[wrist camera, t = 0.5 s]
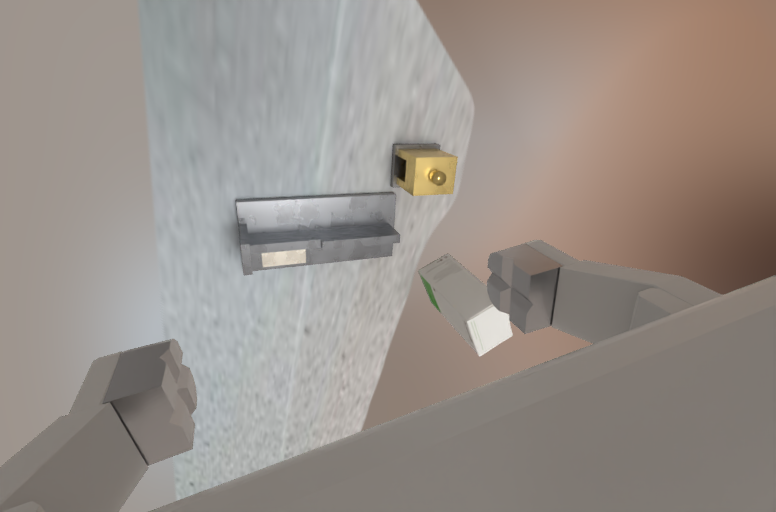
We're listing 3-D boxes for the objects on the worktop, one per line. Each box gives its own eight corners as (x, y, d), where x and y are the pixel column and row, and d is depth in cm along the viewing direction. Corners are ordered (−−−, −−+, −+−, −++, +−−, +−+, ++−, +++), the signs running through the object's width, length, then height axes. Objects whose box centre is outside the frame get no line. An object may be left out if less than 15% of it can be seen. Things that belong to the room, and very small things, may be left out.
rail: (236, 199, 50) (237, 220, 44) (393, 192, 58) (415, 209, 51) (243, 268, 55) (246, 296, 48) (389, 252, 62) (409, 275, 55)
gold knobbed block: (398, 149, 54) (421, 159, 48) (436, 148, 56) (463, 159, 50) (396, 184, 56) (417, 198, 50) (433, 182, 58) (457, 196, 52)
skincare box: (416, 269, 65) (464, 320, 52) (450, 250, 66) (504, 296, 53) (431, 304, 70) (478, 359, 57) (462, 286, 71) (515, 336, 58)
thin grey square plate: (393, 144, 55) (395, 145, 54) (437, 143, 57) (440, 145, 56) (390, 185, 57) (393, 187, 56) (432, 183, 60) (435, 185, 59)
